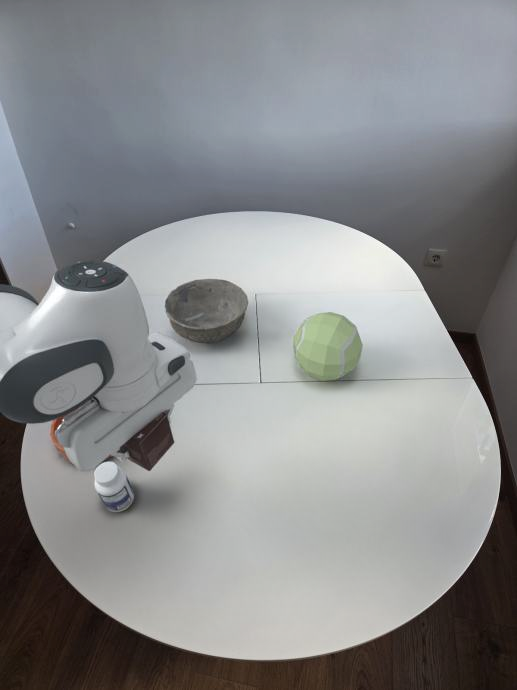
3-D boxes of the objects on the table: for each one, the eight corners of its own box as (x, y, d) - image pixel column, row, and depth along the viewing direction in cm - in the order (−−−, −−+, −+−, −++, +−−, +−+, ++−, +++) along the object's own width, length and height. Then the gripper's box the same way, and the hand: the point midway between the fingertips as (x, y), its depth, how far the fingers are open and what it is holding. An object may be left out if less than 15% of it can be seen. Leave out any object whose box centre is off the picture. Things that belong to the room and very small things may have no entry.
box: (175, 443, 67) (168, 414, 62) (149, 473, 63) (139, 444, 58) (146, 426, 69) (137, 397, 64) (119, 454, 65) (107, 425, 60)
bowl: (262, 319, 116) (262, 289, 110) (223, 369, 103) (221, 338, 96) (198, 298, 123) (194, 269, 117) (154, 342, 110) (146, 312, 103)
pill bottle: (109, 485, 82) (95, 457, 75) (137, 485, 81) (126, 457, 75) (100, 512, 78) (85, 485, 71) (130, 513, 78) (117, 486, 71)
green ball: (282, 379, 100) (284, 331, 90) (306, 340, 110) (310, 293, 100) (344, 401, 96) (353, 353, 85) (363, 358, 105) (373, 310, 95)
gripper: (65, 443, 48) (98, 503, 57) (198, 345, 59) (207, 408, 68) (35, 414, 50) (71, 475, 60) (167, 326, 62) (180, 389, 71)
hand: (144, 439), depth 64 cm, fingers closed on box, 6 cm apart
